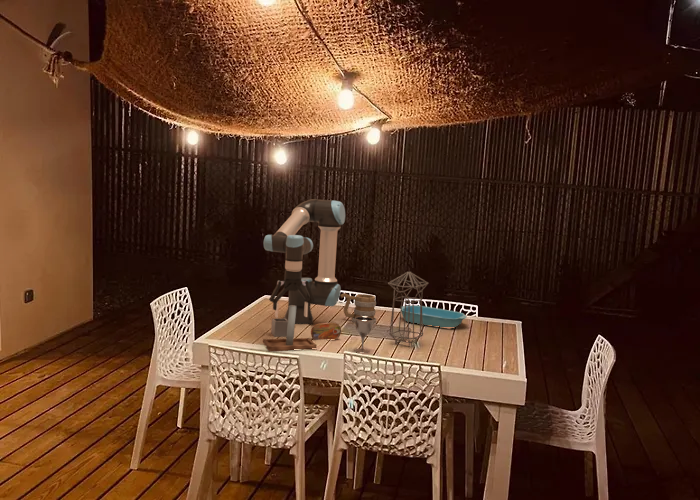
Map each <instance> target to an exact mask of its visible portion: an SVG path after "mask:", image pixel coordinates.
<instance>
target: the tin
mask: <svg viewBox="0 0 700 500" xmlns="http://www.w3.org/2000/svg"><path fill="white" fill-rule="evenodd" d="M341 334H342V328H341V326H340V325H339V323H336V322H320V323H316V324H314V325H313V326H312V327H311V329H310V336H311V338H312V339H313V340H315V341H320V340H327V339H336V340H338V339H339V338H340V336H341Z"/></svg>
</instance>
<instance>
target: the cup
mask: <svg viewBox="0 0 700 500" xmlns="http://www.w3.org/2000/svg"><path fill="white" fill-rule="evenodd" d="M287 326H288V320H287V319H286V318H284V317H283V318H276V317H275V318H271V330H270V331H271V335H272V336H273V337H274V338H281V337H282V338H283V337H284V338H286V336H287Z"/></svg>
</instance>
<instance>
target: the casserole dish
mask: <svg viewBox="0 0 700 500" xmlns="http://www.w3.org/2000/svg"><path fill="white" fill-rule="evenodd" d="M408 309H409V305H406V317H405V322H406V321H407V322H406V323H408ZM404 315H405V305H404V306H403V305H402V311H401V316H402V317H403V319H404ZM466 318H467V316H466V315H465V313H463V312H460V311H454V310H447V309H445V308H437V307H432V306H426V305H425V306H424V305H422V319H423V324H424V325H432V326H440V327H456V326H458V325H459V324H460V325H461V324H462V322H463V320H465V319H466ZM409 322H411V323H410V324H413V305H412V304H411V305H410V314H409ZM414 323H417V324H416V325H418V324H420V305H414ZM421 324H422V322H421ZM424 325H423V326H424ZM460 325H459V326H460ZM459 326H458V327H459ZM456 328H457V327H456Z"/></svg>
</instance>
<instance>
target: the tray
mask: <svg viewBox="0 0 700 500" xmlns="http://www.w3.org/2000/svg"><path fill="white" fill-rule="evenodd" d="M262 343H263V344H264V345H265V346H266V347H265V348H266V349H267V350H269V351H268V352H288V350H294V349H312V348H317V347H318V346H317V344H316V343H314V341H312V340H311V339H310V338H309V337H308V338H307V337H304V338H303V337H301V338H300V337H299V338H297V337H295V338H293V345H290V346H287V345H286V338H272V339H271V338H270V339H267V338H266V339H262ZM294 351H295V350H294Z"/></svg>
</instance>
